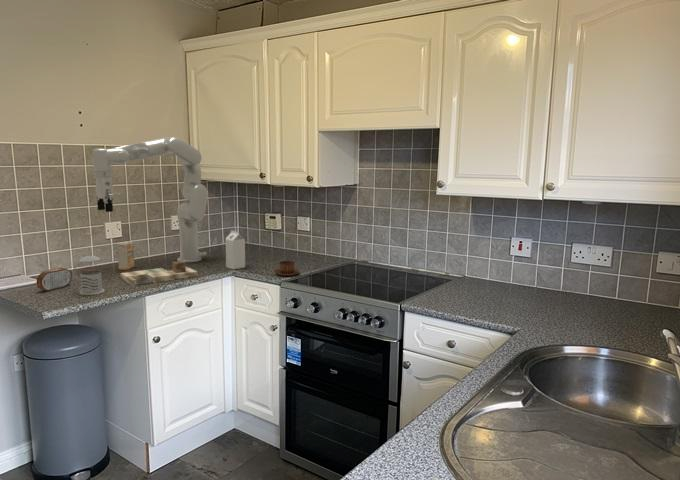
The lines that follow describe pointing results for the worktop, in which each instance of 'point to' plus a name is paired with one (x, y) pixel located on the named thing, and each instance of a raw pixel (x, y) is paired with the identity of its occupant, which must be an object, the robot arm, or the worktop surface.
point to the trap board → (155, 276)
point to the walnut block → (179, 266)
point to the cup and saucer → (286, 269)
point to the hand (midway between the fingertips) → (105, 210)
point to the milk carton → (235, 251)
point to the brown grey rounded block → (54, 279)
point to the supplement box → (126, 255)
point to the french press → (90, 276)
